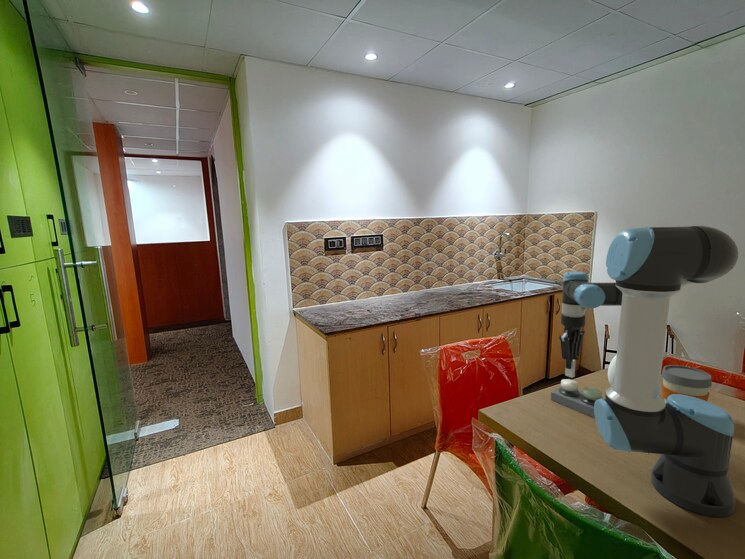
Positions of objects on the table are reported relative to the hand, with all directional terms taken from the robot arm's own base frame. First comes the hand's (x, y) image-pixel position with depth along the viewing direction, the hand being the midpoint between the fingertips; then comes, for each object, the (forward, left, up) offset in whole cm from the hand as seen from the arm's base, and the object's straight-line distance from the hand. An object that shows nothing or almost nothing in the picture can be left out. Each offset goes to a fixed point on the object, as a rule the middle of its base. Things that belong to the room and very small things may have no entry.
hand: (569, 375), depth 129 cm
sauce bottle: (+23, -7, -10) cm, 26 cm away
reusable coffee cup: (+21, -27, -10) cm, 36 cm away
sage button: (0, -8, -4) cm, 9 cm away
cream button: (0, 0, -4) cm, 4 cm away
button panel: (0, -8, -9) cm, 13 cm away
